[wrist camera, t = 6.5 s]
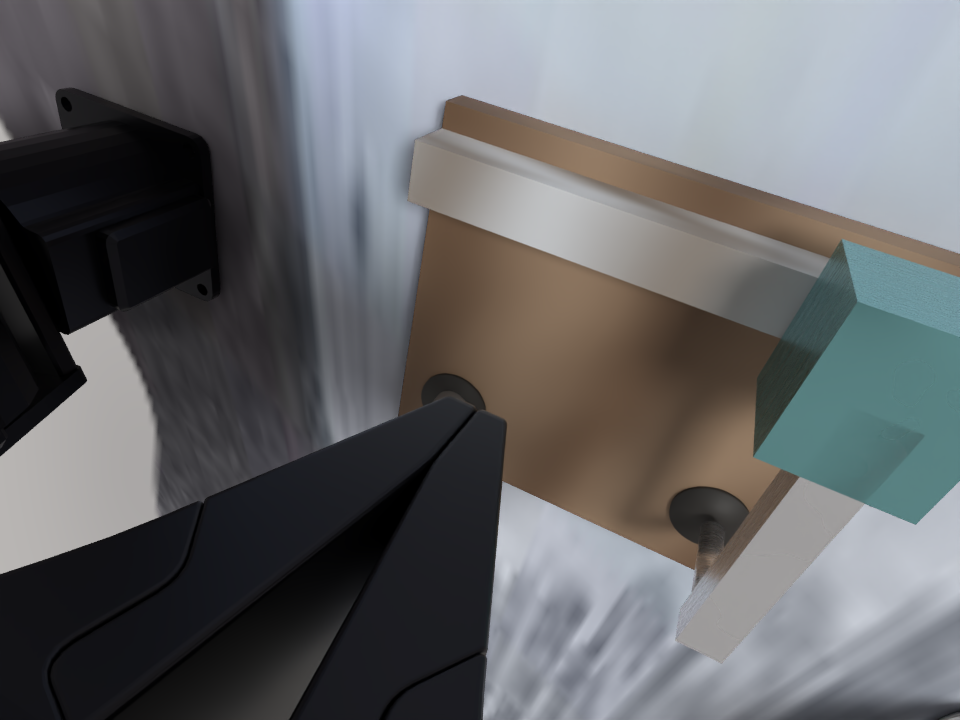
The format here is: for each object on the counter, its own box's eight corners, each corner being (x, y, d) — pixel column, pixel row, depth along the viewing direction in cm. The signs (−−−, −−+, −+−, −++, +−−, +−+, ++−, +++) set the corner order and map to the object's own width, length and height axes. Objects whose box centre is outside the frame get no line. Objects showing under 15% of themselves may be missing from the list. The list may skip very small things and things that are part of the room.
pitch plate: (408, 416, 23) (343, 493, 20) (461, 95, 16) (374, 125, 13) (738, 566, 21) (730, 686, 17) (976, 259, 13) (1046, 356, 10)
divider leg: (661, 515, 19) (636, 630, 15) (836, 218, 13) (857, 301, 9) (756, 558, 18) (751, 688, 15) (986, 267, 12) (1066, 374, 9)
